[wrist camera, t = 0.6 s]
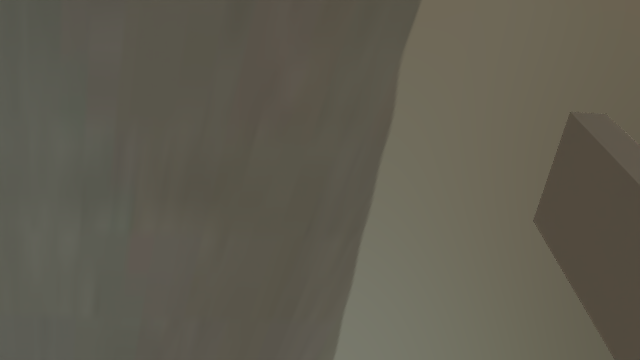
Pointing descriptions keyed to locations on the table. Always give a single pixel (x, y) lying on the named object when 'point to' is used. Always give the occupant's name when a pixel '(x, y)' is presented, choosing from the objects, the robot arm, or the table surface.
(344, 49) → the table surface
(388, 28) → the table surface
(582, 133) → the robot arm
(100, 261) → the table surface
